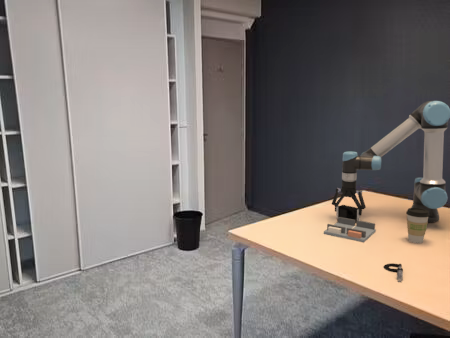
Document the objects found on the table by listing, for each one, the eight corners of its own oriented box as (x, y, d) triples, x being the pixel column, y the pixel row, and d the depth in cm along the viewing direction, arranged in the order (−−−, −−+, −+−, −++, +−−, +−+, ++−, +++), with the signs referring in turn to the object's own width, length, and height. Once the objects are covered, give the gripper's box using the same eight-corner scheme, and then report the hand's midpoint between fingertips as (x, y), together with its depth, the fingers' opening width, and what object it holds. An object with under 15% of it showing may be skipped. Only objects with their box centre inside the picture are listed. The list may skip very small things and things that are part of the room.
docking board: (375, 231, 195) (376, 223, 194) (363, 242, 181) (364, 233, 180) (337, 224, 207) (337, 216, 206) (323, 233, 193) (323, 225, 192)
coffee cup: (418, 246, 175) (420, 214, 173) (399, 239, 184) (401, 209, 181) (432, 242, 180) (434, 211, 177) (413, 235, 188) (415, 206, 186)
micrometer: (383, 264, 158) (384, 258, 158) (403, 267, 155) (403, 261, 155) (381, 279, 145) (382, 273, 144) (402, 283, 142) (403, 277, 141)
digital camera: (337, 218, 215) (337, 206, 214) (342, 216, 219) (342, 204, 217) (353, 222, 207) (354, 210, 206) (359, 220, 211) (359, 208, 209)
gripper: (325, 179, 213) (325, 217, 216) (368, 183, 198) (367, 224, 202) (331, 176, 218) (330, 214, 222) (373, 181, 204) (371, 220, 208)
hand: (347, 219), depth 212 cm, fingers closed on digital camera, 11 cm apart
